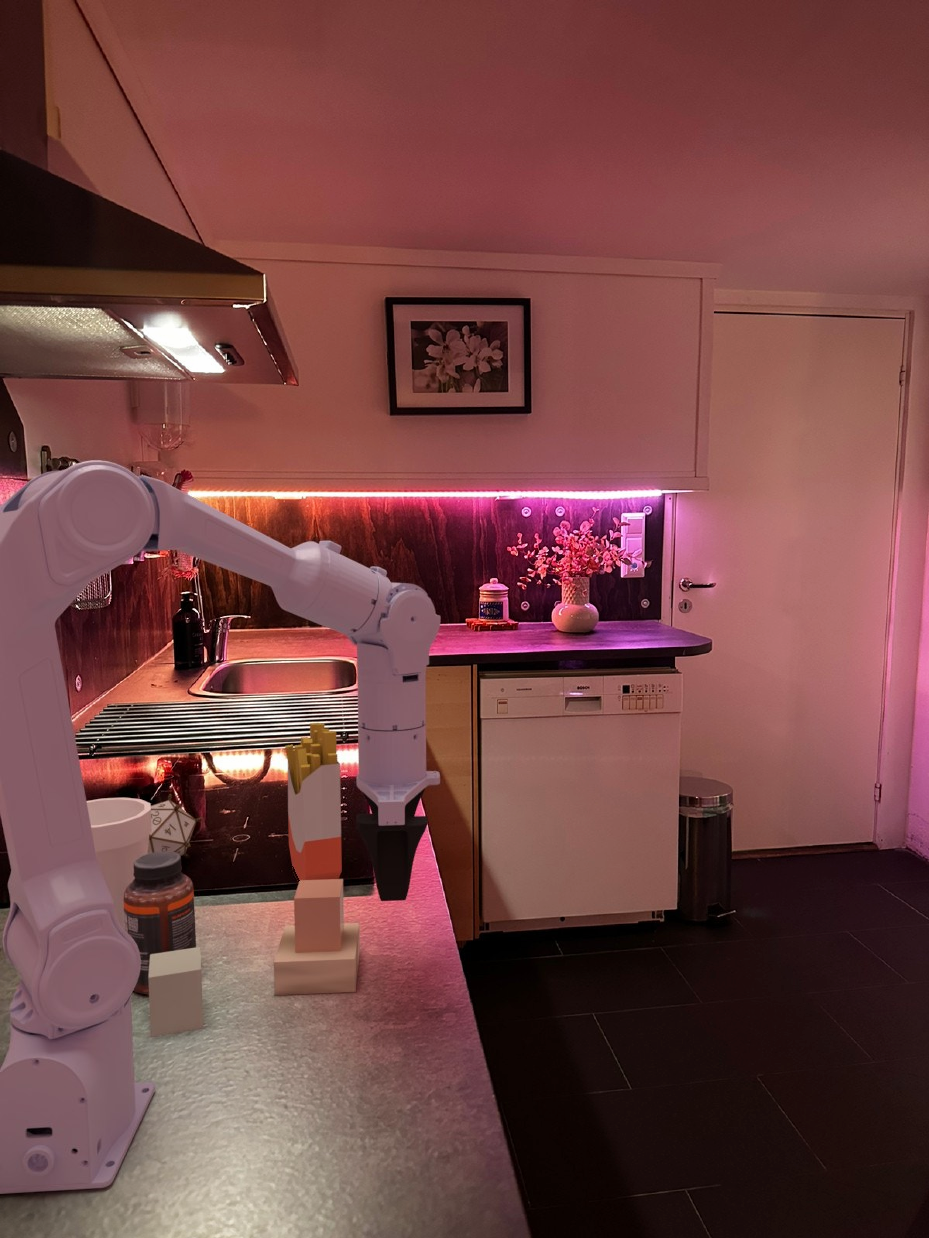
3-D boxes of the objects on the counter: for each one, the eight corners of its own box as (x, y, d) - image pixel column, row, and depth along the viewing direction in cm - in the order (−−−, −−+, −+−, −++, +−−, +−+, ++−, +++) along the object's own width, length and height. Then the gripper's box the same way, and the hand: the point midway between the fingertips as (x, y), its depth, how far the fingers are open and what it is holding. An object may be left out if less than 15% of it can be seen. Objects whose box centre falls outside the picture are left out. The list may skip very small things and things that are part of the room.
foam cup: (165, 914, 88) (160, 795, 86) (144, 957, 78) (139, 824, 77) (70, 921, 86) (64, 800, 85) (38, 965, 77) (31, 830, 76)
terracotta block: (340, 950, 73) (339, 896, 73) (295, 952, 73) (293, 898, 73) (343, 930, 77) (342, 878, 77) (300, 931, 77) (299, 880, 77)
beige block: (203, 1028, 67) (201, 969, 66) (150, 1037, 66) (148, 977, 65) (202, 1002, 71) (200, 946, 70) (152, 1011, 69) (150, 954, 69)
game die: (180, 892, 102) (213, 838, 98) (110, 882, 98) (141, 825, 94) (181, 837, 109) (211, 785, 106) (115, 825, 105) (145, 770, 101)
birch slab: (355, 991, 72) (354, 958, 72) (274, 995, 72) (273, 962, 71) (359, 952, 79) (359, 922, 79) (286, 955, 79) (285, 925, 78)
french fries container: (302, 898, 92) (298, 739, 90) (286, 863, 102) (282, 720, 100) (342, 891, 93) (340, 735, 92) (322, 858, 103) (320, 717, 102)
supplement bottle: (205, 962, 77) (201, 845, 76) (186, 997, 71) (181, 870, 70) (141, 964, 77) (136, 846, 76) (116, 998, 71) (111, 872, 70)
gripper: (443, 743, 62) (444, 915, 64) (436, 706, 77) (437, 848, 78) (349, 745, 62) (352, 918, 63) (360, 708, 76) (362, 850, 78)
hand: (393, 880), depth 71 cm, fingers open, 7 cm apart
